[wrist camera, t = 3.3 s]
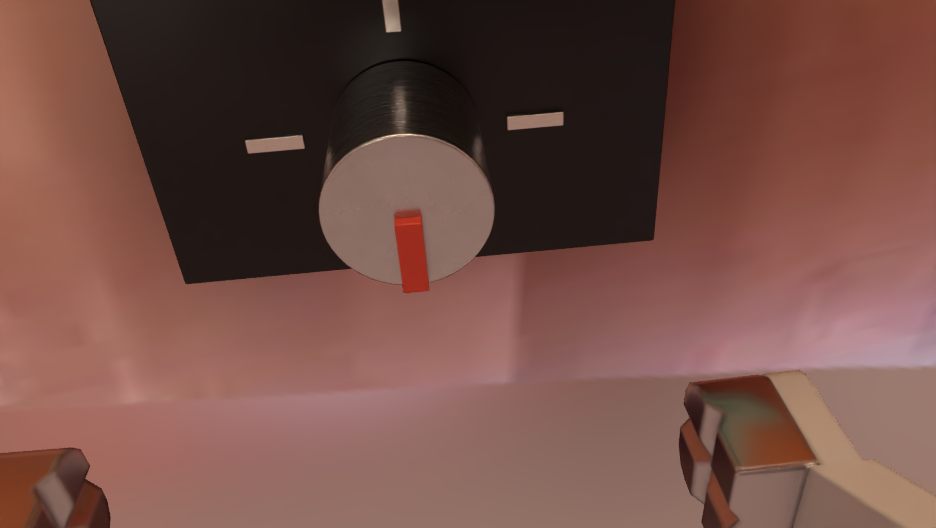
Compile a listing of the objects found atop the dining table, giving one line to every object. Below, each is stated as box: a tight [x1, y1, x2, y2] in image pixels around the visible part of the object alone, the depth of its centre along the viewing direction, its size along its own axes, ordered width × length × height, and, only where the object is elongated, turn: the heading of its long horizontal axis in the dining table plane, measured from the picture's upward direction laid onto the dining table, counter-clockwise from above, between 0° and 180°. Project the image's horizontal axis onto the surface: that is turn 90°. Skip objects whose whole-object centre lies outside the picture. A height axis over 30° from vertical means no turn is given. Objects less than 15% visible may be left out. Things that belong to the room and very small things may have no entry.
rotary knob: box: [318, 61, 495, 293], centre depth 17 cm, size 4×4×4 cm
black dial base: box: [90, 0, 675, 284], centre depth 20 cm, size 13×8×3 cm, turn 94°
